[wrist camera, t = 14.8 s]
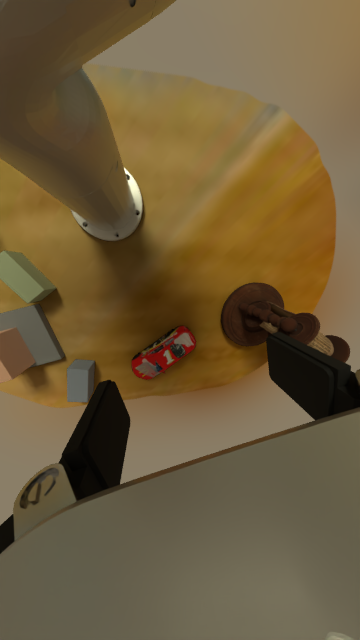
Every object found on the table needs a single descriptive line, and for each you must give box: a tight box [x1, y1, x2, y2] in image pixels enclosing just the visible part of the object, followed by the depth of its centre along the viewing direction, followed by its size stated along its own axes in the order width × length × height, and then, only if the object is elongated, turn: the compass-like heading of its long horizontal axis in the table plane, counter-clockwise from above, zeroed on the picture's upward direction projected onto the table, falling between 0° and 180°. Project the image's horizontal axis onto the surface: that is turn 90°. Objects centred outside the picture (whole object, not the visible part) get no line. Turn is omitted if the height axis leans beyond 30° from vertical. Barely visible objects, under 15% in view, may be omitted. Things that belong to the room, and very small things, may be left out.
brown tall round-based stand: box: [221, 283, 350, 363], centre depth 31 cm, size 15×15×20 cm
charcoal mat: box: [0, 304, 65, 368], centre depth 34 cm, size 12×14×2 cm
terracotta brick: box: [0, 327, 36, 383], centre depth 31 cm, size 8×4×6 cm, turn 14°
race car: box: [132, 326, 196, 380], centre depth 38 cm, size 16×7×5 cm, turn 123°
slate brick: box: [67, 359, 95, 402], centre depth 37 cm, size 8×4×4 cm, turn 171°
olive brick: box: [0, 250, 56, 303], centre depth 31 cm, size 8×4×4 cm, turn 37°
